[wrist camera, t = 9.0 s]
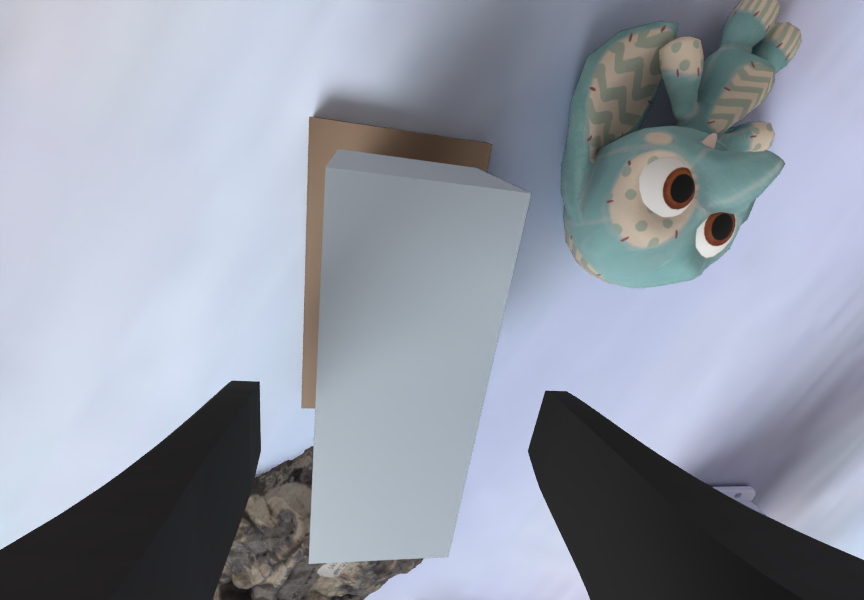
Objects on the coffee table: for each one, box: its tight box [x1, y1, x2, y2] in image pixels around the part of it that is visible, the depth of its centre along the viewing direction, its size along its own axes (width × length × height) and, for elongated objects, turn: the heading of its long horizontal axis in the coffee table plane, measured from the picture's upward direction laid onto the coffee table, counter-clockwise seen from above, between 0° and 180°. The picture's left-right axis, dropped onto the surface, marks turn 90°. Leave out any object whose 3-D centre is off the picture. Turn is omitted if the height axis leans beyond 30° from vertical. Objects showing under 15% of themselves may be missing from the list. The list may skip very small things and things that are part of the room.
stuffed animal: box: [561, 0, 802, 288], centre depth 16 cm, size 11×7×12 cm
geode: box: [213, 446, 423, 600], centre depth 24 cm, size 19×4×15 cm
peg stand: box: [301, 117, 492, 408], centre depth 18 cm, size 7×13×4 cm, turn 172°
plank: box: [309, 149, 531, 564], centre depth 14 cm, size 4×12×5 cm, turn 171°
